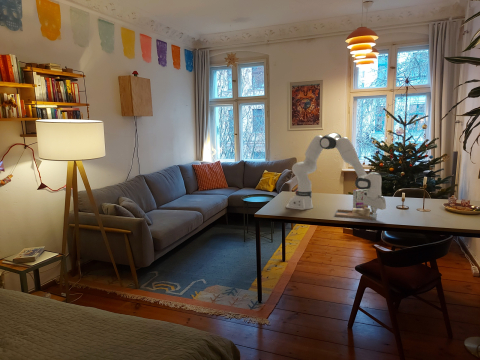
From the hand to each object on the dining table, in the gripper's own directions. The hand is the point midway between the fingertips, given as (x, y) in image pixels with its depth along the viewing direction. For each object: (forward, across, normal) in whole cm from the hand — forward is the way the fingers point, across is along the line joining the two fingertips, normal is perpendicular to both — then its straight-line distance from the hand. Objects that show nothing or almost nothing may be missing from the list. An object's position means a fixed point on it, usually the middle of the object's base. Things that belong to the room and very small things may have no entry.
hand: (373, 212), depth 248 cm
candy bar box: (+4, +22, -6) cm, 23 cm away
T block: (+3, +6, +6) cm, 9 cm away
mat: (+4, +9, +10) cm, 13 cm away
